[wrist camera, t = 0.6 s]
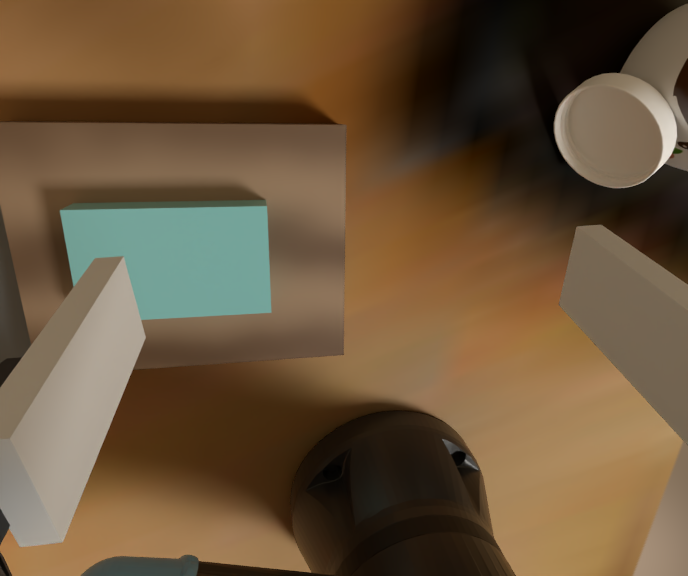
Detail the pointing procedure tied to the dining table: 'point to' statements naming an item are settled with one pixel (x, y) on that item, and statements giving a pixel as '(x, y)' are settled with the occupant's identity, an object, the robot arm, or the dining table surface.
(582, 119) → the spread jar
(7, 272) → the mat
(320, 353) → the brown flat block
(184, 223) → the card
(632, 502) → the dining table surface
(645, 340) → the robot arm
